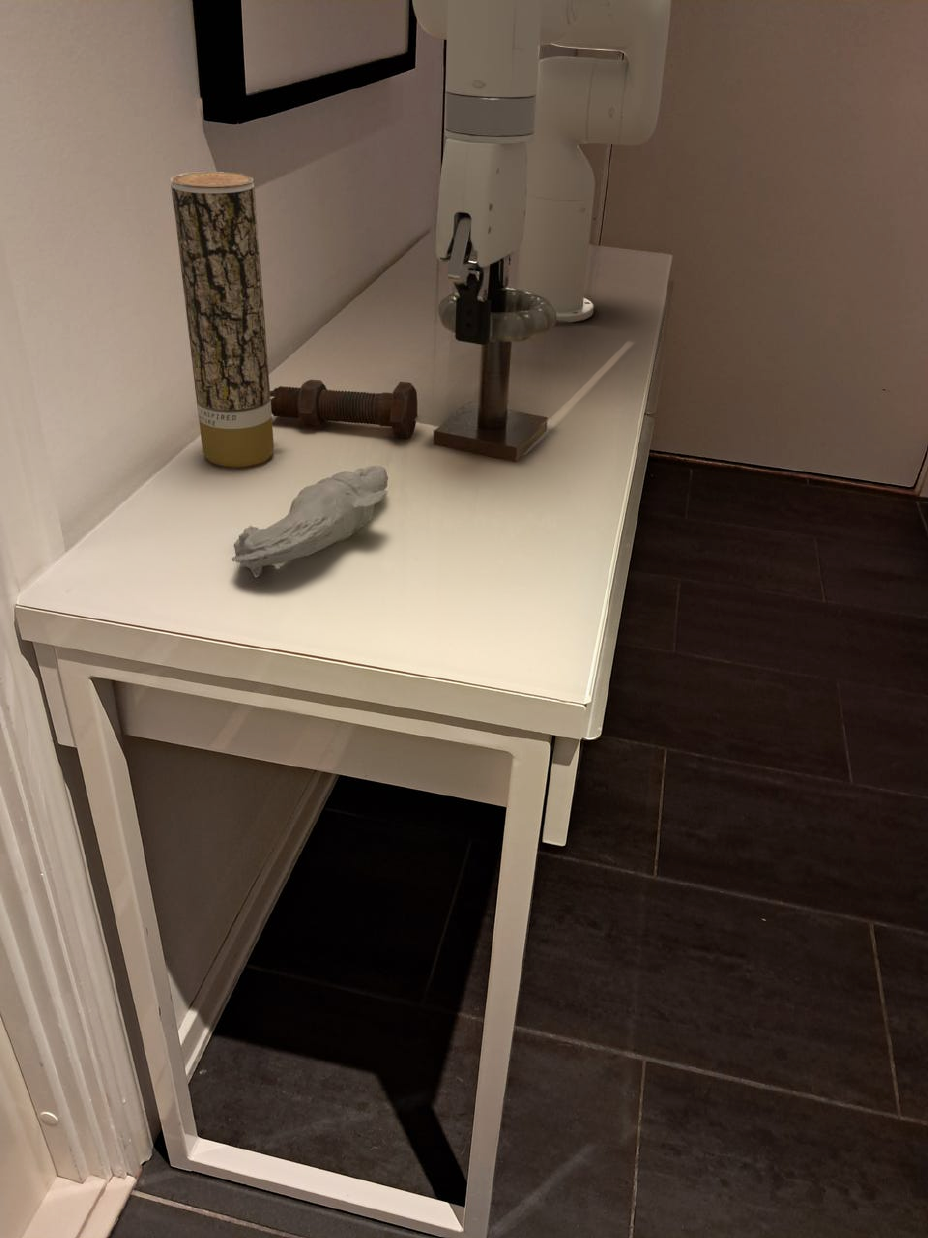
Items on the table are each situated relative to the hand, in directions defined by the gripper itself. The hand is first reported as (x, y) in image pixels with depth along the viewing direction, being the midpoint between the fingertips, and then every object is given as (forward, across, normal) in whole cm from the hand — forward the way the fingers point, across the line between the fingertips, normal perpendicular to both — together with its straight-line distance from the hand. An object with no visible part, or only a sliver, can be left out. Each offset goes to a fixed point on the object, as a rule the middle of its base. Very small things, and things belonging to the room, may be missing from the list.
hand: (480, 334), depth 93 cm
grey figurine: (+12, +22, -5) cm, 25 cm away
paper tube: (+12, +12, -20) cm, 26 cm away
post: (+12, -4, 0) cm, 13 cm away
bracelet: (-1, -4, 0) cm, 4 cm away
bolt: (+12, +1, -15) cm, 19 cm away
